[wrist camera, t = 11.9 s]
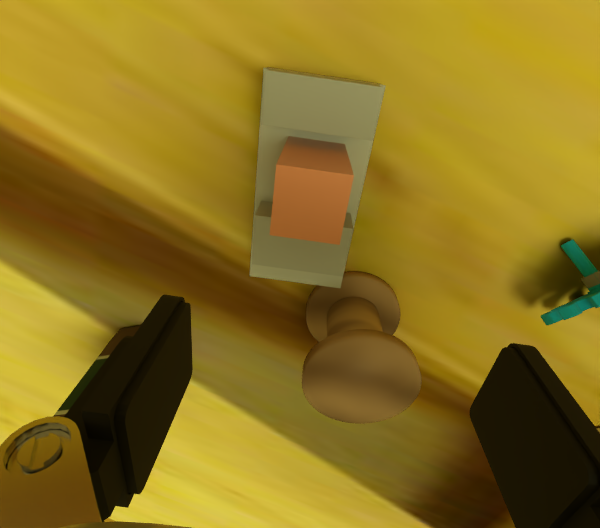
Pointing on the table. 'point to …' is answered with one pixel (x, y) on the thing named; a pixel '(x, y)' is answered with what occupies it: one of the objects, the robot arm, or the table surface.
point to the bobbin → (358, 352)
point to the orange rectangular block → (311, 190)
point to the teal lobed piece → (593, 280)
